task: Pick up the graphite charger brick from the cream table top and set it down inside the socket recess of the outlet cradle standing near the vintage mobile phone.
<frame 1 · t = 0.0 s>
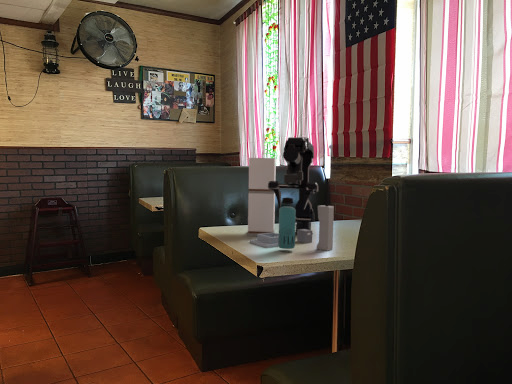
hand: (291, 208, 149), 15 cm above the table, tool pointing down, fingers open, 9 cm apart
beverage bottle: (286, 251, 147), on the table
outlet cradle: (272, 243, 160), on the table
white box wooden trim: (261, 234, 182), on the table
vintage mobile phone: (324, 249, 151), on the table
charger brick: (304, 241, 165), on the table
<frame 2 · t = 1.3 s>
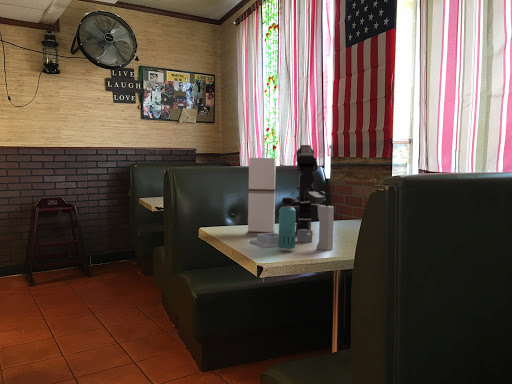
hand: (304, 222, 165), 8 cm above the table, tool pointing down, fingers open, 9 cm apart
nothing on the table moved.
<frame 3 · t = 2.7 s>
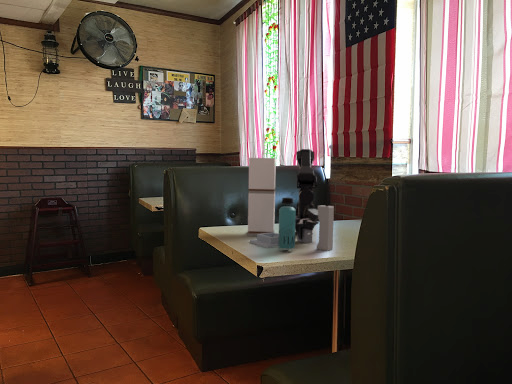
hand: (304, 238, 165), 1 cm above the table, tool pointing down, fingers closed on charger brick, 4 cm apart
charger brick: (304, 241, 165), on the table, touching gripper
everything else where it was.
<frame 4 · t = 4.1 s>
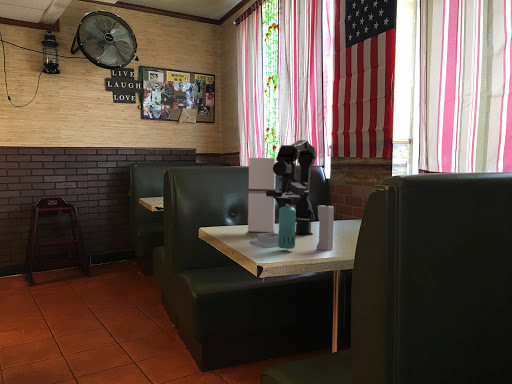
hand: (287, 214, 161), 12 cm above the table, tool pointing down, fingers closed on charger brick, 4 cm apart
charger brick: (287, 217, 161), point 11 cm above the table, touching gripper
everything else where it was.
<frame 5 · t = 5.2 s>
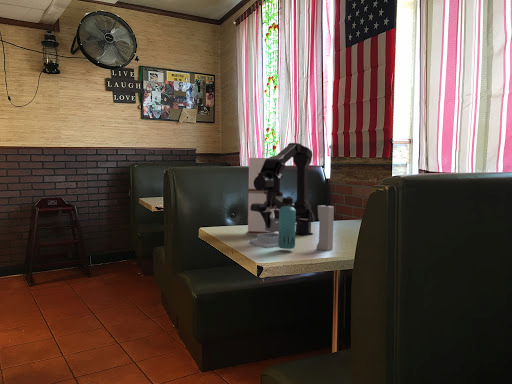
hand: (272, 227, 160), 6 cm above the table, tool pointing down, fingers closed on charger brick, 4 cm apart
charger brick: (272, 230, 160), point 5 cm above the table, touching gripper
everything else where it was.
when the fingers open (4 cm above the table, at t = 6.0 s): charger brick drops 1 cm, resting on outlet cradle.
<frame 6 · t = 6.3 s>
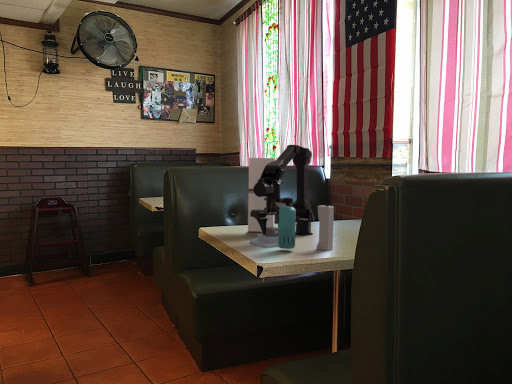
hand: (272, 233, 160), 4 cm above the table, tool pointing down, fingers open, 8 cm apart
charger brick: (272, 240, 160), point 1 cm above the table, touching outlet cradle
everything else where it was.
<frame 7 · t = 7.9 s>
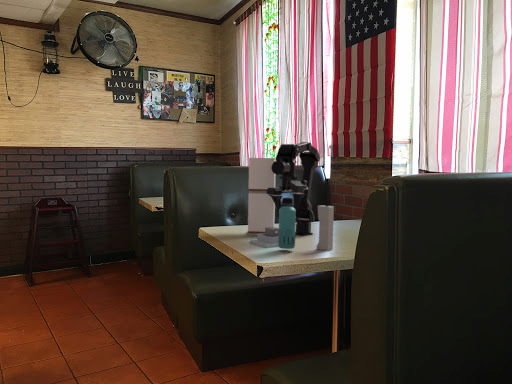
hand: (287, 210, 167), 13 cm above the table, tool pointing down, fingers open, 9 cm apart
nothing on the table moved.
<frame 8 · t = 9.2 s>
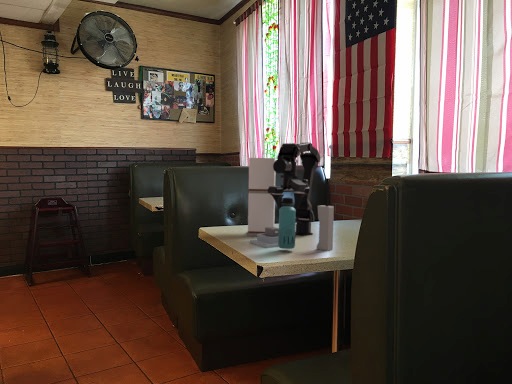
hand: (288, 209, 167), 13 cm above the table, tool pointing down, fingers open, 9 cm apart
nothing on the table moved.
at the end: charger brick 0.1 cm off-centre on the outlet cradle, point 1.3 cm above the outlet cradle's base; charger brick tilted 0°; the gripper is holding nothing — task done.
